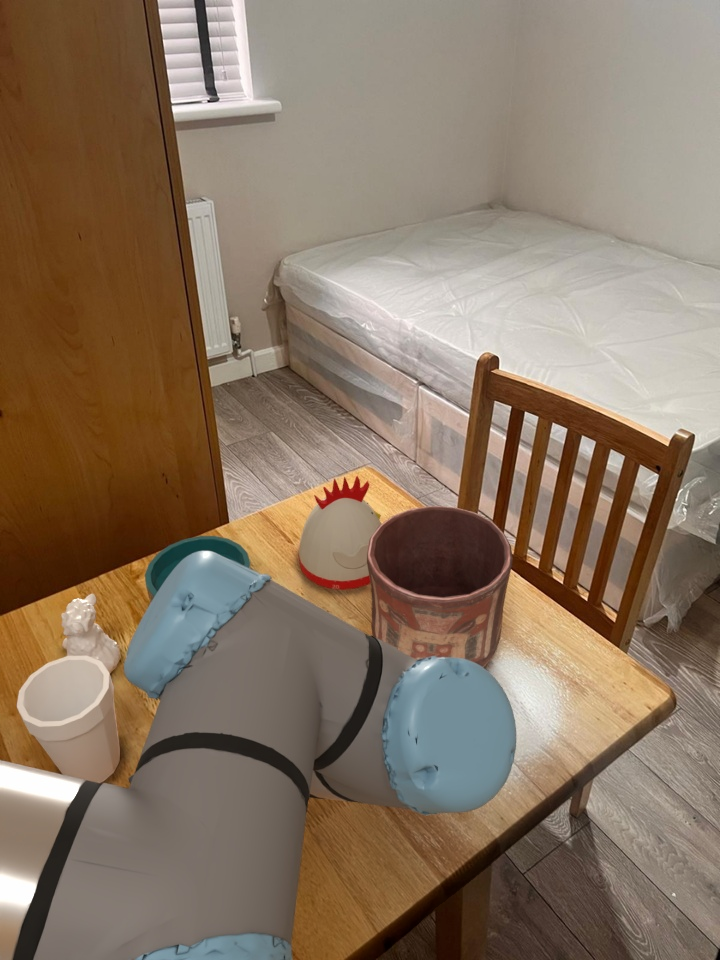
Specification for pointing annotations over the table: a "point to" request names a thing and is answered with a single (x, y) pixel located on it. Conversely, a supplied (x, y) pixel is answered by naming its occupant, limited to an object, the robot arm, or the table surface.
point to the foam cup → (73, 716)
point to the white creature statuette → (88, 634)
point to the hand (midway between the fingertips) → (222, 741)
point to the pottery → (439, 583)
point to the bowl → (182, 549)
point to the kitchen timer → (339, 538)
